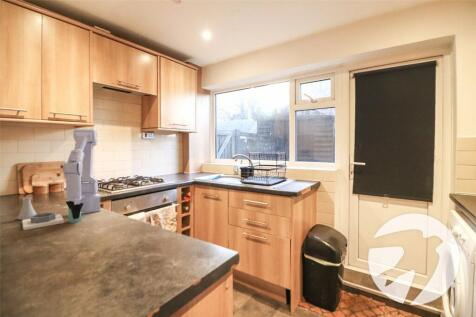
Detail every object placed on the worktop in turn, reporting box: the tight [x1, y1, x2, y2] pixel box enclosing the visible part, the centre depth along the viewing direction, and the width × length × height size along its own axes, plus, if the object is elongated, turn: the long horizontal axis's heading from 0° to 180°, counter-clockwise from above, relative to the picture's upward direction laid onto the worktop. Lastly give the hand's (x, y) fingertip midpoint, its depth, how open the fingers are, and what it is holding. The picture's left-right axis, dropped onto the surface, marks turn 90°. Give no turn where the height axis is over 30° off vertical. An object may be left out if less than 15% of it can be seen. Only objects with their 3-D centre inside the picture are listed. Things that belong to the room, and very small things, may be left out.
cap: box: [67, 208, 82, 224], centre depth 112 cm, size 5×5×6 cm
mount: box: [22, 212, 65, 231], centre depth 111 cm, size 14×14×3 cm
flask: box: [16, 196, 37, 221], centre depth 118 cm, size 7×7×10 cm
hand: (74, 217), depth 112 cm, fingers open, 6 cm apart
